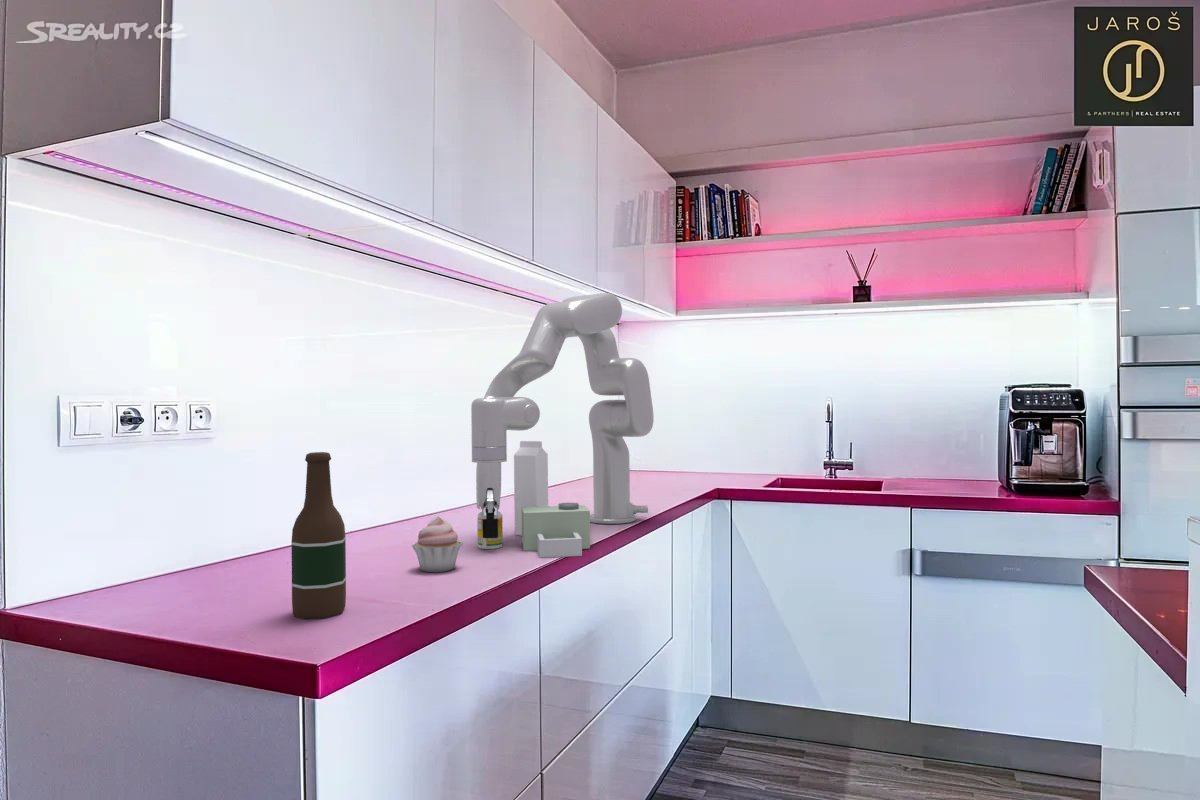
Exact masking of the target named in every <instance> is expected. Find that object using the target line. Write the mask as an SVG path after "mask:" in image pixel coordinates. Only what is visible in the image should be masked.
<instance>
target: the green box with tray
mask: <svg viewBox="0 0 1200 800" xmlns="http://www.w3.org/2000/svg"><path fill="white" fill-rule="evenodd" d="M590 515H591V510H589V508H587V506H586V505H584V504H579V502H561V503H560V502H559V503H558V505H550V506H549V505H548V506H543V507H522V535H521V545H522V549H523V552H531V551H532V552H534V551H535V552H537V553H538V556H539V558H540V559H542V558H543V559H545V558H557V557H558V558H561V557H562V558H565V557H568V558H569V557H582V556H583V550H584V549H585V550H586V549H590V548H591V522H590Z"/></svg>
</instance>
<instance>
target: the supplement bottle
mask: <svg viewBox="0 0 1200 800" xmlns="http://www.w3.org/2000/svg"><path fill="white" fill-rule="evenodd" d="M496 504H497V502H496ZM494 505H495V502H494ZM483 506H484V504H483ZM480 510H481V511H480V512H479V513H478V514H477V518H476V519H477V525H476V526H477V530H476V531H477V537H476V538H477V540H476V541H477V547H478V549H481V550H496V549H499V548H502V547H503V514H502V512H501V511H499V510H500V506H499V508H497V519H498V537H497V538H483V520H482V519H484V509H483V507H480Z"/></svg>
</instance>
